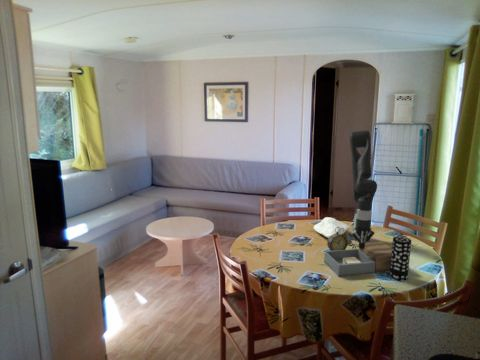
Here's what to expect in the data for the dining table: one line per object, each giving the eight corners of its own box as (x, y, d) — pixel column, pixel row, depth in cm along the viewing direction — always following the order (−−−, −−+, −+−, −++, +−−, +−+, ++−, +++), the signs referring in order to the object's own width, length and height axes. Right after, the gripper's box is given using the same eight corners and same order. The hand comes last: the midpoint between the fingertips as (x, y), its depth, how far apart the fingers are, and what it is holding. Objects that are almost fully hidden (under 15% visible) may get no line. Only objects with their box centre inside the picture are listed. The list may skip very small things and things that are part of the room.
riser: (358, 258, 204) (359, 243, 202) (381, 256, 206) (382, 241, 204) (375, 273, 186) (377, 256, 184) (400, 270, 189) (401, 254, 187)
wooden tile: (355, 257, 197) (354, 262, 197) (342, 257, 196) (342, 263, 196) (361, 262, 190) (360, 267, 191) (348, 263, 189) (348, 268, 190)
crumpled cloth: (345, 224, 257) (344, 212, 256) (357, 242, 223) (355, 228, 221) (312, 228, 260) (310, 216, 258) (318, 246, 226) (317, 233, 224)
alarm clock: (330, 256, 207) (331, 229, 203) (325, 252, 212) (326, 226, 208) (347, 254, 210) (348, 227, 206) (342, 250, 215) (343, 224, 211)
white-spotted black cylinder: (402, 273, 186) (406, 236, 182) (410, 280, 178) (414, 242, 174) (386, 273, 186) (390, 236, 182) (394, 281, 178) (397, 242, 174)
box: (324, 261, 200) (324, 251, 199) (357, 258, 204) (358, 248, 202) (338, 276, 183) (339, 265, 181) (374, 273, 186) (375, 262, 185)
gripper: (371, 214, 193) (369, 245, 197) (348, 216, 191) (346, 246, 195) (379, 218, 186) (376, 250, 190) (355, 220, 184) (353, 252, 187)
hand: (361, 248), depth 192 cm, fingers closed
